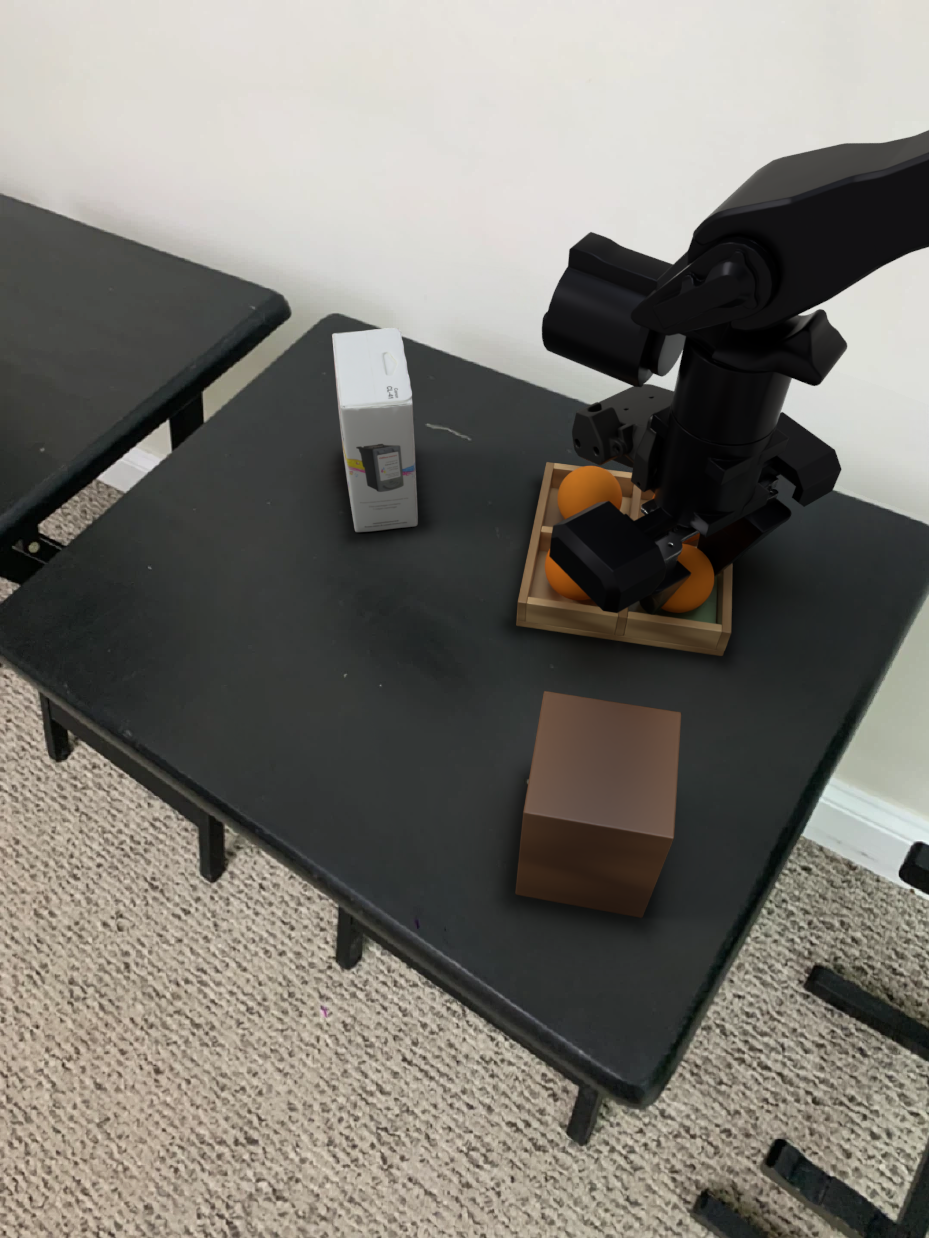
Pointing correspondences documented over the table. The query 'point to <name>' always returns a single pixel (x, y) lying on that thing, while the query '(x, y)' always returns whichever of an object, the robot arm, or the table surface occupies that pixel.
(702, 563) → the clementine
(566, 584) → the clementine
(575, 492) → the clementine
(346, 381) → the ink box
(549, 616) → the fruit rack
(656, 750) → the brown wooden block
